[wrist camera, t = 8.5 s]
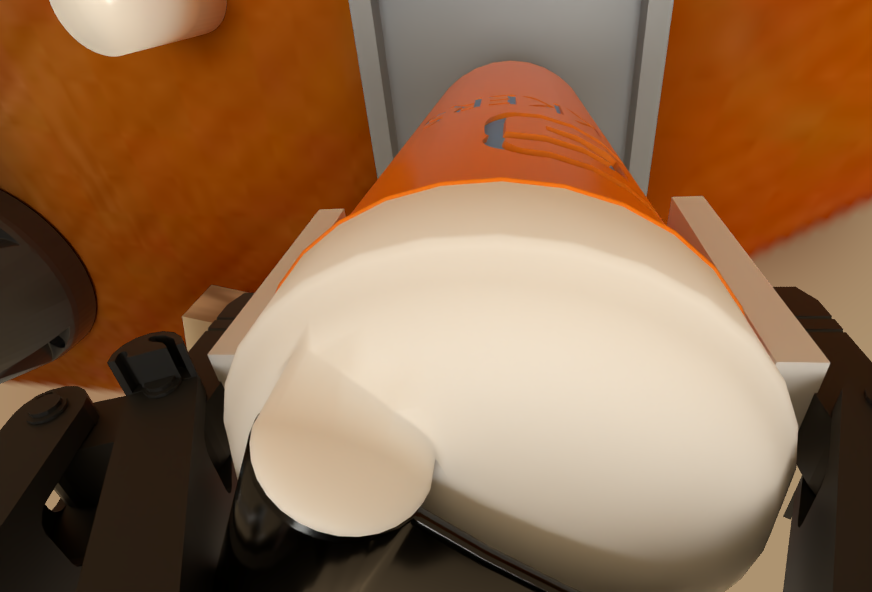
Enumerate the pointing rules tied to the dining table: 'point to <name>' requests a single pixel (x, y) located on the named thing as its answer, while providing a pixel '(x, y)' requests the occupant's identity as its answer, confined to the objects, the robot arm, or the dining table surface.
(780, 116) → the dining table surface
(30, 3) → the dining table surface
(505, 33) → the tray
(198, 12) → the ceramic shaker
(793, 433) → the shaker bottle
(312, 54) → the dining table surface
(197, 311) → the oak block
